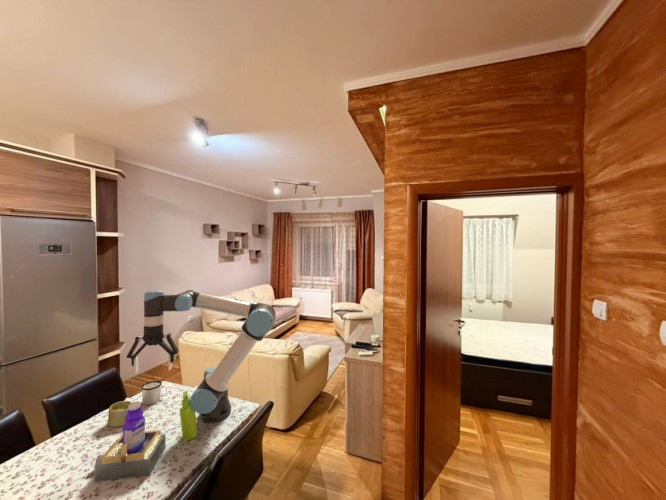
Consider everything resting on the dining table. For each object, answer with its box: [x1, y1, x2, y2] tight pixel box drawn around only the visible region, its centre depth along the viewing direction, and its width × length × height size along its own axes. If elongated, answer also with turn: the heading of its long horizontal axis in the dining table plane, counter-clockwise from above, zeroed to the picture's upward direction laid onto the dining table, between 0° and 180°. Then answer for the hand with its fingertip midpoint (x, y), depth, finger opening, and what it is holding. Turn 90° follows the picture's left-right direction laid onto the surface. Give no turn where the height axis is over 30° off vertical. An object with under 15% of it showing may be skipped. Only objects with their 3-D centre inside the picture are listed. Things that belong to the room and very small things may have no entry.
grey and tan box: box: [94, 429, 167, 483], centre depth 108 cm, size 21×15×12 cm
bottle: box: [122, 401, 146, 453], centre depth 108 cm, size 7×6×17 cm
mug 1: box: [107, 400, 133, 428], centre depth 133 cm, size 12×10×10 cm
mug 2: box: [140, 380, 168, 406], centre depth 153 cm, size 12×10×9 cm
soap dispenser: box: [179, 390, 198, 442], centre depth 124 cm, size 6×7×20 cm
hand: (153, 371), depth 126 cm, fingers open, 13 cm apart
